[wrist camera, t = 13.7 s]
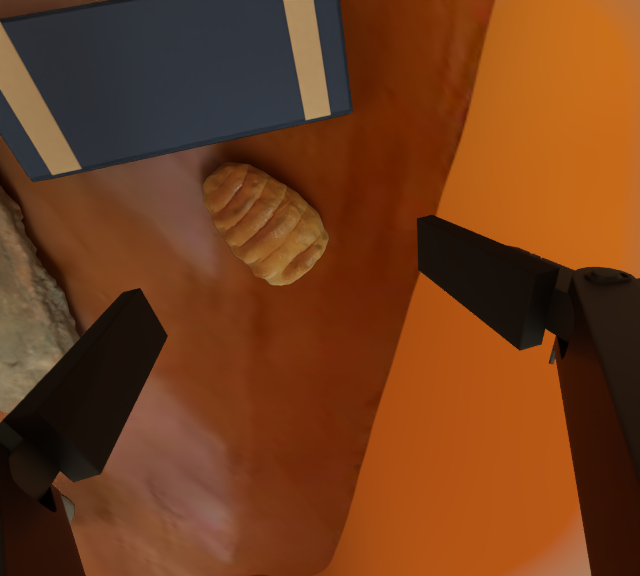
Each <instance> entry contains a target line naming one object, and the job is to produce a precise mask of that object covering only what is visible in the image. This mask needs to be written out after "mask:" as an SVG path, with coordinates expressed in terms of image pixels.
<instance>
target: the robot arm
mask: <svg viewBox="0 0 640 576" xmlns="http://www.w3.org/2000/svg"><path fill="white" fill-rule="evenodd" d="M417 233H418V270H419V271H421V272H422V273H423V274H424V275H426V276H427V277H428V278H429V279H431V280H432V281H433V282H434V283H436V284H437V285H438V286H439V287H441V288H442V289H443V290H444V291H446V292H447V293H448V294H449V295H451V296H452V297H453V298H455V299H456V300H457V301H458V302H459V303H461V304H462V305H463V306H465V307H466V308H467V309H468V310H469V311H471V312H472V313H474V315H476V316H477V317H478V318H479V319H481V320H482V321H483V322H485V323H486V324H487V325H488V326H489V327H491V328H492V329H493V330H495V331H496V332H497V333H498V334H500V335H501V336H502V337H503V338H505V339H506V340H507V341H508V342H510V343H511V344H512V345H513V346H515V347H516V348H517V349H519V350H524V349H527V348H530V347H534V346H537V345H541V344H542V340H543V336H544V332H545V329H547V330H548V331H550V332H552V333H553V334H555V335H556V338H555V341H554V345H553V349H552V353H551V356H550V360H549V364H553V363H554V360H555V359H556V363H557V369H558V375H559V381H560V387H561V393H562V399H563V405H564V411H565V417H566V424H567V430H568V436H569V442H570V448H571V454H572V460H573V466H574V472H575V478H576V484H577V490H578V497H579V503H580V509H581V515H582V521H583V527H584V533H585V539H586V545H587V551H588V557H589V563H590V569H591V576H640V278H639V279H636V278H635V277H634V276H632V275H631V274H628V273H626V272H623V271H620V270H616V269H611V268H603V267H586V268H581V269H577V270H576V271H575V270H572V269H570V268H567V267H565V266H562V265H560V264H557V263H555V262H552V261H550V260H547V259H545V258H541V257H540V256H537V255H535V254H530V252H527V251H525V250H523V249H520V248H517V247H512V246H506V245H504V244H501V243H499V242H496V241H494V240H492V239H489V238H487V237H484V236H482V235H480V234H477V233H475V232H472V231H470V230H467V229H465V228H463V227H460V226H458V225H455V224H453V223H451V222H448V221H446V220H443V219H441V218H438V217H436V216H434V215H429V216H426V217H422V218H418V219H417ZM167 337H168V336H167V334H166V332H165V330H164V329H163V327H162V325H161V323H160V322H159V320H158V318H157V316H156V315H155V313H154V311H153V309H152V308H151V306H150V304H149V303H148V301H147V299H146V297H145V296H144V294H143V292H142V290H141V289H140V288H138V289H134V290H130V291H126V292H123V293H122V294H121V295H120V296H119V297H118V298H117V299H116V300H115V301H114V302H113V303H112V304H111V305H110V307H109V308H108V309H107V310H106V311H105V312H104V313H103V314H102V315H101V316H100V317H99V318H98V319H97V320H96V322H95V323H94V324H93V325H92V326H91V327H90V328H89V329H88V330H87V331H86V332H85V333H84V334H83V336H82V337H81V338H80V339H79V340H78V341H77V342H76V343H75V344H74V345H73V346H72V347H71V348H70V349H69V351H68V352H67V353H66V354H65V355H64V356H63V357H62V358H61V359H60V360H59V361H58V362H57V363H56V364H55V366H54V367H53V368H52V369H51V370H50V371H49V372H48V373H47V374H46V375H45V376H44V377H43V378H42V379H41V380H40V381H39V382H38V383H37V384H36V385H35V386H34V388H33V389H32V390H31V391H30V392H29V393H28V394H27V395H26V396H25V397H24V399H23V400H21V401H20V402H19V403H18V405H17V406H16V407H15V408H14V409H13V410H12V411H11V412H10V413H9V414H8V415H7V416H6V417H5V418H4V419H3V421H2V422H1V423H0V576H86V575H85V572H84V569H83V566H82V562H81V559H80V556H79V553H78V549H77V546H76V543H75V539H74V536H73V533H72V530H71V526H70V523H69V520H68V517H67V513H66V510H65V507H64V503H63V500H62V497H61V494H60V491H59V490H58V489H57V488H56V487H54V486H53V485H52V483H53V481H54V479H55V478H56V476H57V474H58V473H59V471H61V472H62V473H63V474H64V475H66V476H67V477H68V478H69V479H70V480H71V481H72V482H76V481H79V480H83V479H86V478H89V477H93V476H96V475H100V474H101V473H102V471H103V469H104V466H105V464H106V462H107V460H108V458H109V456H110V454H111V452H112V450H113V448H114V446H115V444H116V442H117V440H118V438H119V436H120V434H121V431H122V429H123V427H124V425H125V423H126V421H127V419H128V417H129V415H130V413H131V411H132V409H133V407H134V405H135V403H136V401H137V399H138V396H139V394H140V392H141V390H142V388H143V386H144V384H145V382H146V380H147V378H148V376H149V374H150V372H151V370H152V368H153V366H154V364H155V361H156V359H157V357H158V355H159V353H160V351H161V349H162V347H163V345H164V343H165V341H166V339H167Z"/></svg>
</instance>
